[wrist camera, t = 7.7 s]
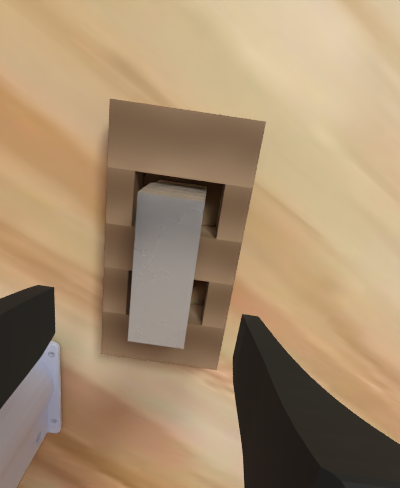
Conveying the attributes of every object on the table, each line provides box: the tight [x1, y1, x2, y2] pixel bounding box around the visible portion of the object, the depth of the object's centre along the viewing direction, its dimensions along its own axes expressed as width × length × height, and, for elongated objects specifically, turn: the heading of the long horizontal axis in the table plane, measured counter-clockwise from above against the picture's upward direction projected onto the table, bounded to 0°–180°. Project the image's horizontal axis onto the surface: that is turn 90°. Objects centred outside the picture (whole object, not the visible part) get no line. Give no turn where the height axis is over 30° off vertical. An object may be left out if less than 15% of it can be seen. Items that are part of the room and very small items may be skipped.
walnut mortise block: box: [101, 99, 266, 370], centre depth 19 cm, size 16×8×2 cm, turn 172°
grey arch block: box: [128, 180, 207, 349], centre depth 17 cm, size 8×3×6 cm, turn 172°
